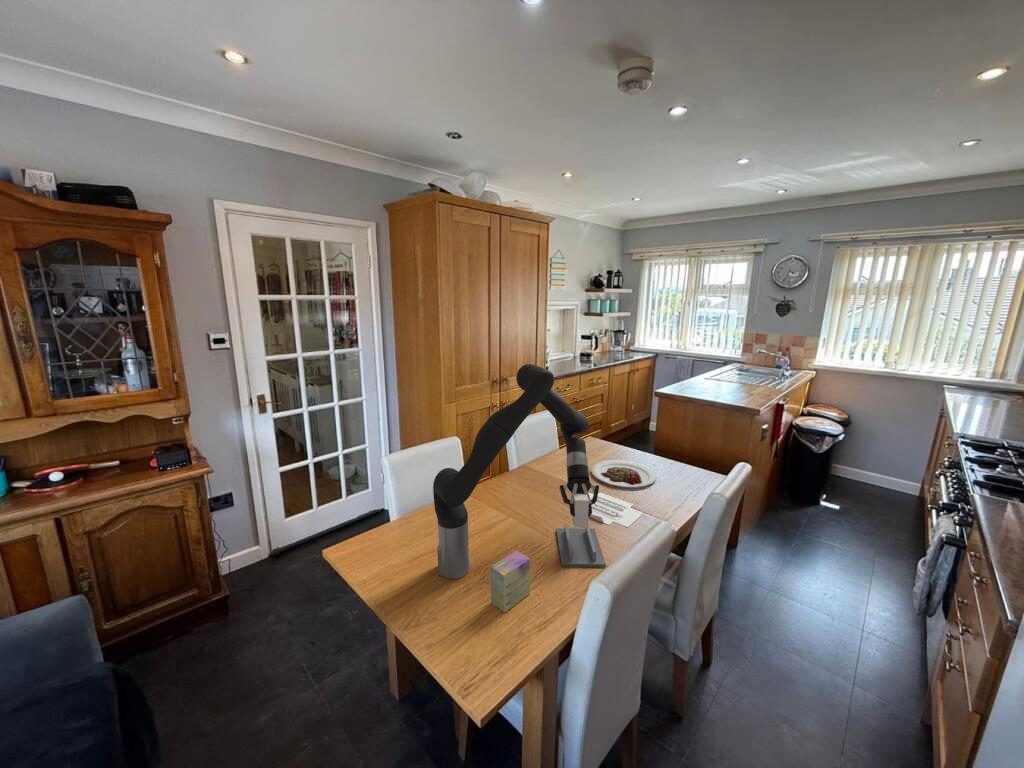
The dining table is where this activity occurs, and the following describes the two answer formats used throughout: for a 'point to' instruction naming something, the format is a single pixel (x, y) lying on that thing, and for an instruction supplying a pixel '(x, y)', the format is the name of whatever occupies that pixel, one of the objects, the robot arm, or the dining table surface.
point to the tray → (613, 510)
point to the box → (510, 580)
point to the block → (581, 511)
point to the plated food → (623, 473)
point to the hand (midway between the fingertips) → (581, 516)
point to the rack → (579, 547)
